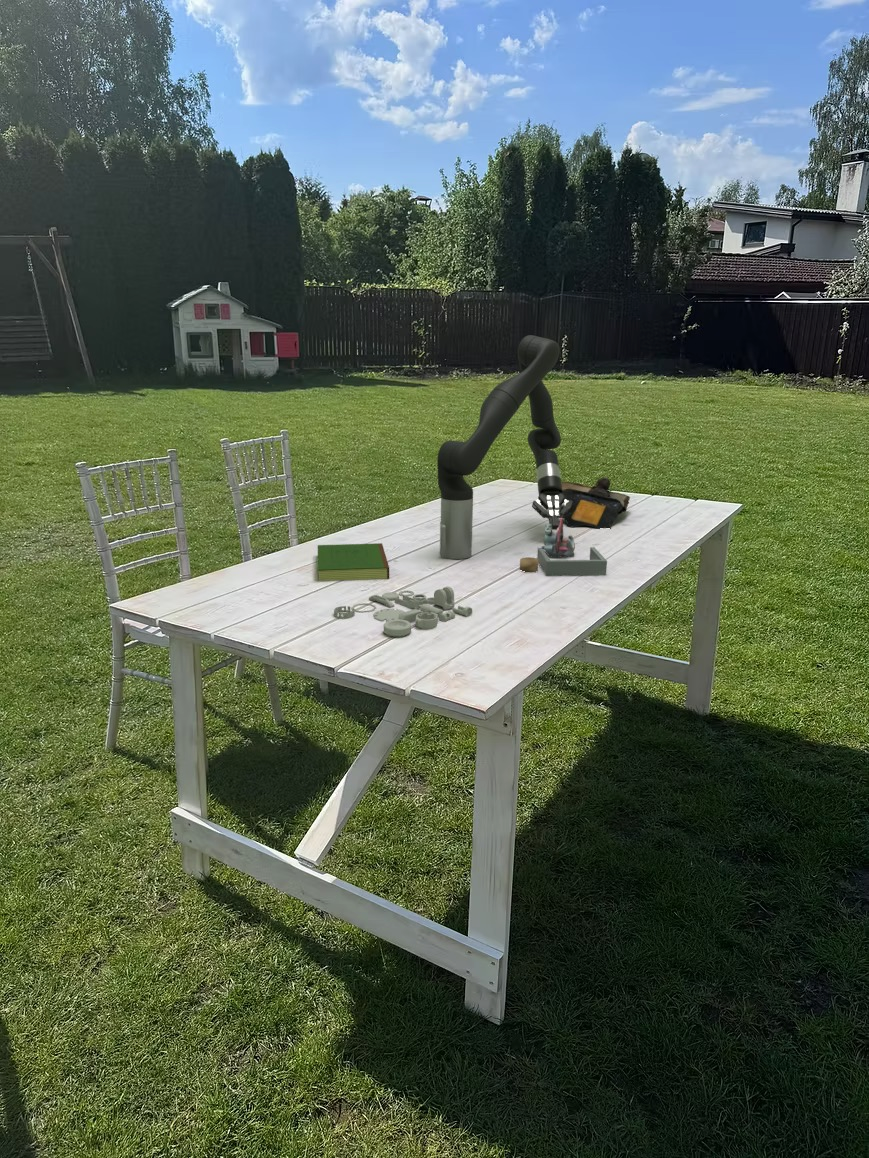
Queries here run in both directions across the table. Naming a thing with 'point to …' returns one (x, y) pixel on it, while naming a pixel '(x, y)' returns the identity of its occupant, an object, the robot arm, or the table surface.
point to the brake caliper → (557, 542)
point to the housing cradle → (573, 565)
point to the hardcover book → (352, 562)
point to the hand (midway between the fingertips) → (555, 528)
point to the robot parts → (401, 620)
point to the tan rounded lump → (529, 564)
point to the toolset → (593, 504)
